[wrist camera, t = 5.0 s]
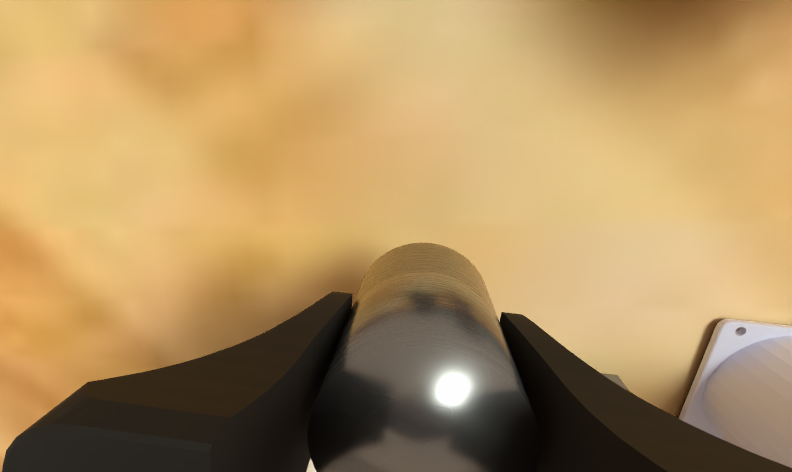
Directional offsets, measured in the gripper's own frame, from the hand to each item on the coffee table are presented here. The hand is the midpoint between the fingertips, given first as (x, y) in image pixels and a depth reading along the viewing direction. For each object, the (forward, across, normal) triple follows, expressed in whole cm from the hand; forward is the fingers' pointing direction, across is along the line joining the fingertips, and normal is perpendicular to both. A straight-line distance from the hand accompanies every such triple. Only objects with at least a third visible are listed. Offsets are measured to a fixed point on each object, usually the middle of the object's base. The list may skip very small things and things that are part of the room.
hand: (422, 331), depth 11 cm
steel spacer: (+2, 0, 0) cm, 2 cm away
